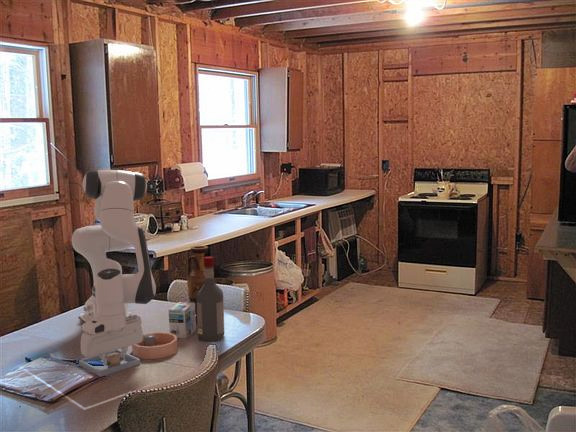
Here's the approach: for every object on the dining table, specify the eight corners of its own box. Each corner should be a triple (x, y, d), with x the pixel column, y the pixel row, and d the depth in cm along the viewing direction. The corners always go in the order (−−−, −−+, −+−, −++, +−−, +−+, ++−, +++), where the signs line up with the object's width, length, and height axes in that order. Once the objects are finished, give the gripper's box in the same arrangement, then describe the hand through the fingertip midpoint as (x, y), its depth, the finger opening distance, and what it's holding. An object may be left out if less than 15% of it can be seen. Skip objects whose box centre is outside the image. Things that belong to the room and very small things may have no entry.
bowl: (124, 352, 206) (123, 340, 205) (161, 341, 216) (160, 329, 216) (148, 363, 195) (147, 350, 195) (186, 351, 206) (185, 339, 205)
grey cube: (141, 347, 208) (141, 336, 207) (151, 344, 211) (151, 333, 210) (148, 350, 205) (147, 338, 204) (158, 347, 208) (157, 336, 207)
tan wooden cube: (105, 367, 192) (104, 355, 191) (116, 363, 195) (116, 351, 194) (111, 370, 189) (111, 358, 188) (123, 366, 192) (122, 354, 191)
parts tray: (79, 366, 194) (78, 360, 194) (118, 355, 204) (117, 348, 203) (100, 378, 184) (100, 371, 184) (140, 365, 194) (140, 359, 194)
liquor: (224, 333, 224) (222, 254, 220) (223, 342, 215) (220, 259, 211) (200, 334, 224) (197, 255, 219) (197, 342, 215) (194, 260, 210)
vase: (218, 317, 244) (215, 244, 240) (212, 325, 234) (209, 249, 229) (192, 316, 245) (189, 244, 241) (184, 325, 235) (181, 249, 231)
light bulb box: (186, 338, 219) (185, 310, 217) (169, 338, 220) (167, 309, 219) (196, 329, 229) (195, 302, 228) (179, 328, 231) (178, 301, 229)
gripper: (135, 311, 199) (137, 351, 201) (76, 326, 185) (79, 369, 187) (145, 315, 195) (147, 356, 197) (86, 330, 180) (89, 374, 182)
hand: (114, 362), depth 192 cm, fingers closed on tan wooden cube, 4 cm apart
